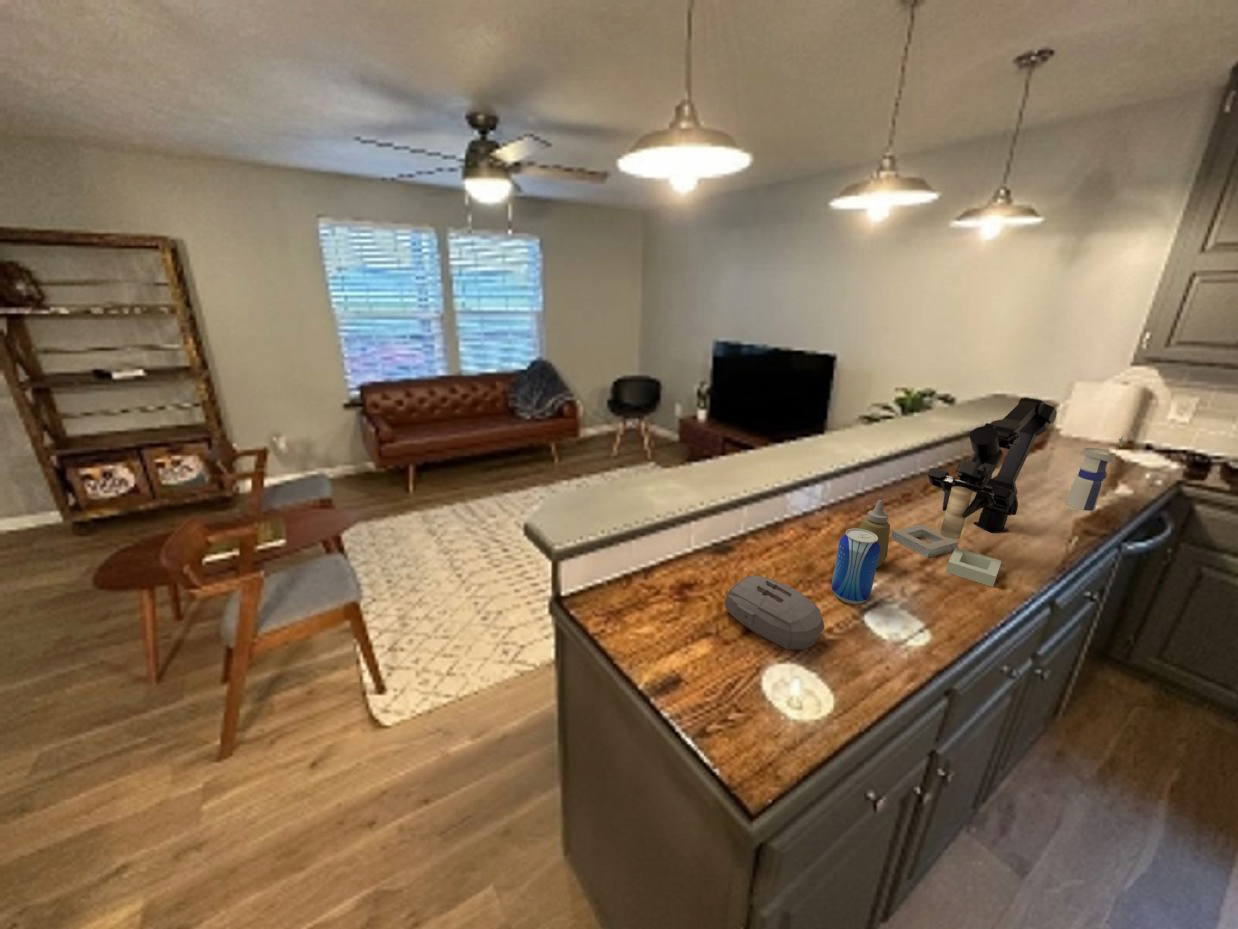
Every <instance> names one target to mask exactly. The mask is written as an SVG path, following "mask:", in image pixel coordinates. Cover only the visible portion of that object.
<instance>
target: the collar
mask: <svg viewBox="0 0 1238 929" xmlns="http://www.w3.org/2000/svg"><path fill="white" fill-rule="evenodd" d="M1001 564H1002V560H1000V559H997V558H994V557H990V556H987V555H983V554H980V553H977V552H973V551H969V550H966V549H963V548H960V547H957V548H955V550H954V551H952V554H951V555H950V557H949V560H948V562H947V565H946V570H945V573H948V574H951V575H954V576H957V577H960V578H963V579H966V580H969V581H972V582H975V583H979V584H981V583H982V585H984V584H985V585H984V586H989V587H992V588H994V586H995V582H996V580H997V577H998V576H997V575H998V574H999V570H1000V567H1001Z"/></svg>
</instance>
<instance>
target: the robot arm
mask: <svg viewBox="0 0 1238 929" xmlns="http://www.w3.org/2000/svg"><path fill="white" fill-rule="evenodd" d="M1057 415H1058V412H1057V410H1056V407H1054V406H1051V404H1048V403H1045V401H1044V400H1042V399H1038V398H1033V397H1032V398H1031V397H1026V396H1025V397H1020V399H1019V400H1018V402H1017V405H1016V406H1014V407H1013V409H1012V410H1010V411H1009V412H1008V413H1007V414H1006V415H1005V416H1004V417H1003V418H1002V419H998V420H993V421H992V422H991V421H990V423H988V422H985V424H984V426H979V427H976V428H974V429H973V430H971V431H970V433H969V440H970V445H971V450H972V452H973V456H972V457H971V459H970V460H965V459H960V460H959V463H958V464H957V467H956V468H955V472H956V473H957V474H956V475H957V477H958V478H959V479H957V478H955V477H954V476H950V473H949V471H946V470H944V469H939V468H932V469H931V470H930V471H929V472H928V474H927V477H928V479H929V480H928V481H929V483H930V485H931V486H933V487H936V488H940V489H942V491H943V492H944V493H943V494H944V495H943V503H942V507H941V508H942V511H943V512H946V508H947V504H948V500H949V496H950V492H951V488H952V487H955V486H958V487H964V488H968V489H970V490H972V493H975V496H974V498H973V500H972V501H970V503H969V507H968V508H967V509H966V511H965V513H964V515H963V518H965V519H966V518H967V517H969V516H971V515H972V514H974V513H975V512H977V511H979V510H981V509H982V510H981V512H980V514H979V519H978V521H973V525H975V526H978V527H979V528H981V529H984V530H985V531H987V532H989V533H993V534H994V533H1002V532H1004V533H1005V532H1009V531H1010V529H1009V528H1007V527H1006V523H1007V520H1008V516H1009V517H1010V516H1015V515H1017V511H1018V506H1019V501H1018V496H1017V495H1018V489H1017V488H1018V487H1017V483H1016V480H1018V477H1019V475H1020V473H1021V471H1022V468H1023V467H1024V464H1025V462H1026V460H1027V457H1028V455H1029V453H1030V451H1031V449H1032V447H1033V445H1034V443H1035V440H1036V438H1037V437H1038V436H1040V435H1041V434H1043V433H1045V432H1047V431H1048V429H1049V427H1050V425H1052V424H1053V423H1054V422H1055V420H1056V418H1057ZM1002 449H1005V450H1008V452H1007V454H1006V456H1005V458H1004V461H1003V462H1002V465H1001V467H1000V469H999V471H998V473H997V475H996V476H994V477H993V473H994V472H995V470H996V468H997V467H998V466H999V464H1000V462H1001V461H1002V458H1003V457H1004V453H1003V450H1002Z"/></svg>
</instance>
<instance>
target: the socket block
mask: <svg viewBox="0 0 1238 929" xmlns="http://www.w3.org/2000/svg"><path fill="white" fill-rule="evenodd" d="M891 531H892V532H891V537H890V539H891V540H893V541H895V542H896V543H898V544H901V546H905V547H907V548H908V549H910V550H912V551H913V552H916V553H918V554H919V555H921V556H923V557H925V558H927V559H928V558H931V557H935V556H940V555H942V554H947V553H951V552H954V550H955V548H958V545H959V541H957V540H956V539H951V538H947V537H944V536H942V535H941V534H940V532H938V531H936V530H934V529H931V528H929V527H927V526H925V525H923V524H917V525H911V526H907V527H903V528H899V529H898V528H897V529H895V530H891ZM919 538H921V539H924V540H926V541H928V542H929V543H927V542H925V541H923V540H921V539H919Z"/></svg>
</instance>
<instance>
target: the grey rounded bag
mask: <svg viewBox="0 0 1238 929" xmlns="http://www.w3.org/2000/svg"><path fill="white" fill-rule="evenodd" d="M724 605H725V606H724V607H725V610H726V611H727V612H728V613H729V614H730V615H731V616H733V618H735V619H736V620H737V622H739V623H740V624H742V625H743V626H744V627H746V628H747V629H748V628H749V630H750V631H751V632H753V633H754V634H756V635H758V637H759V636H760V637H762V638H764V639H765V640H767V641H769V642H771V643H773V644H775V645H777V646H779V647H782V648H784V649H786V650H800V651H802V650H805V649H808V648H811V647H814V645H815V644H816V643H817V640H818V639H819V637H820V636H821V635H822V632H824V629H825V624H824V619H823V615H822V612H821V609H820V608H819V607H818V606H817V605H816V604H815V603H814V602H813V601H812V600H810V598H808V597H807V595H804V594H803V593H802V592H799V591H798V590H797V589H795V588H793V587H792V586H788V585H787V584H784V583H783V582H779V581H778V580H775V579H774V580H773V579H771V578H768V577H763V576H761V575H757V574H753V575H749V576H747V577H745V578H742V579H740V580H739V581H738V582H736V583H735V584H733V586H731V588H730V589H729V591H728V592H727V594H726V597H725V600H724Z"/></svg>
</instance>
